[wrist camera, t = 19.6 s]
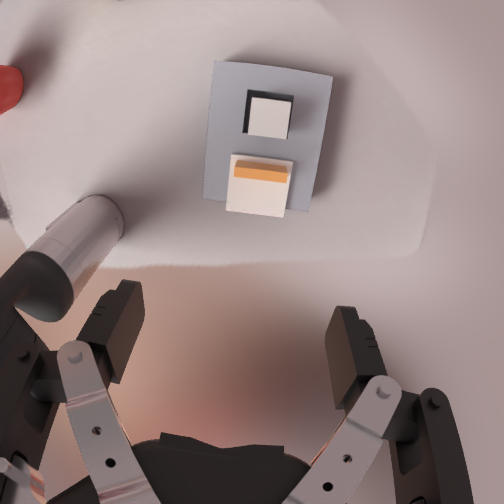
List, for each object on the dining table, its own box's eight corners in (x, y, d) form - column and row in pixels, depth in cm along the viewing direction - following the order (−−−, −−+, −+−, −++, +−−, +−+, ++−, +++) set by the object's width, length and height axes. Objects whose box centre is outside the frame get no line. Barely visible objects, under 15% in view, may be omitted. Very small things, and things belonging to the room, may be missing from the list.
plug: (250, 125, 38) (247, 134, 31) (254, 95, 36) (251, 97, 29) (281, 128, 38) (286, 139, 31) (285, 99, 36) (291, 102, 29)
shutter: (226, 208, 40) (223, 220, 37) (231, 153, 36) (228, 160, 33) (283, 215, 40) (284, 228, 37) (292, 161, 36) (295, 169, 33)
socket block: (207, 188, 43) (202, 198, 40) (219, 62, 34) (214, 60, 30) (304, 200, 44) (308, 211, 40) (326, 77, 34) (333, 76, 31)
